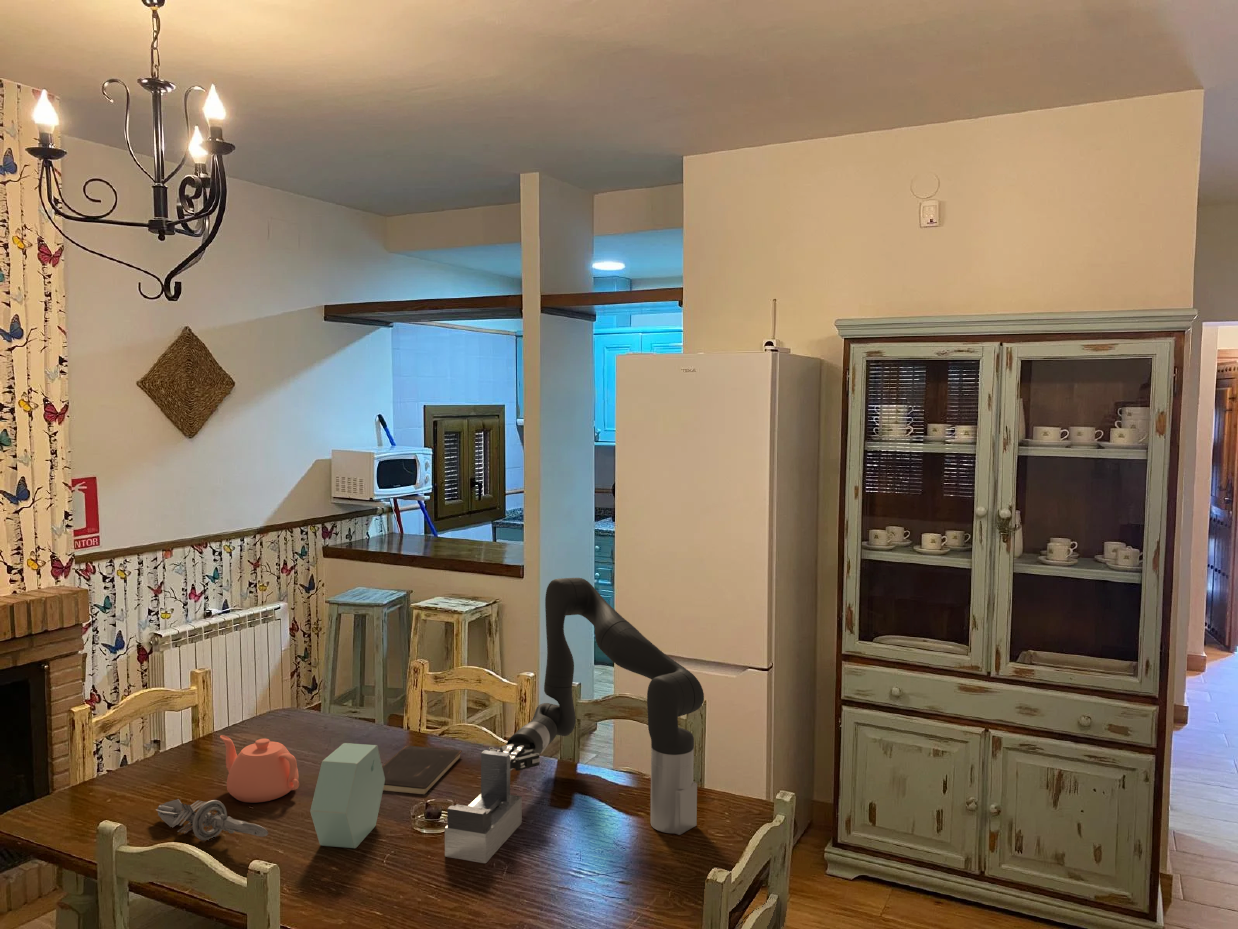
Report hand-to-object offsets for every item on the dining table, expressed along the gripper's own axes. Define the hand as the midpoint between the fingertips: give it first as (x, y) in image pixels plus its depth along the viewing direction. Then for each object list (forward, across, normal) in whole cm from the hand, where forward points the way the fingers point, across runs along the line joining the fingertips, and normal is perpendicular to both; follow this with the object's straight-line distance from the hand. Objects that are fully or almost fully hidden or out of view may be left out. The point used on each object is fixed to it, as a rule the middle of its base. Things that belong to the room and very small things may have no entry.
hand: (497, 771), depth 192 cm
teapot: (+2, -60, +12) cm, 61 cm away
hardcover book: (-19, -32, +13) cm, 39 cm away
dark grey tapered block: (+5, 0, +6) cm, 8 cm away
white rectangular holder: (+6, 0, +12) cm, 14 cm away
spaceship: (+24, -54, +12) cm, 61 cm away
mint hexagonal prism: (+13, -28, +12) cm, 33 cm away
